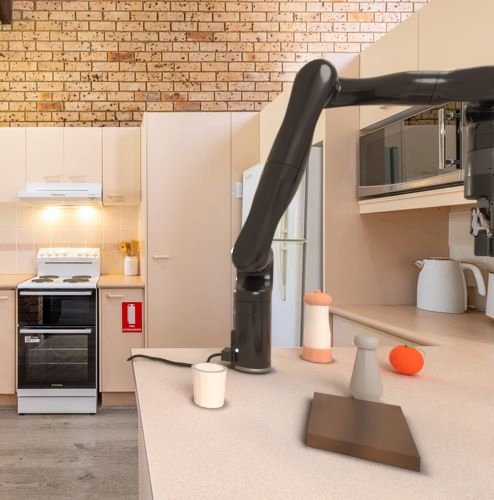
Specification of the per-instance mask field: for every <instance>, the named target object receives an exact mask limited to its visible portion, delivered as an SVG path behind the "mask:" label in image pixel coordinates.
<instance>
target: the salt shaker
mask: <svg viewBox="0 0 494 500" xmlns="http://www.w3.org/2000/svg"><path fill="white" fill-rule="evenodd" d="M353 338H354V339H353V345H354V346H355V347H356V353H355V357H354V363H353V367H352V372H351V376H350V381H349V385H348V387H349V390H350V392H351V394H352V396H353V398H355V399H361V400H367V401H373V402H380V399H381V398H382V397H383V394H384V385H383V381H382V375H381V371H380V370H381V369H380V366H379V361H378V354H377V350H378V349H379V347H380V339H379V338H378V337H376V336H374V335H370V334H356V335H355V336H354V337H353Z"/></svg>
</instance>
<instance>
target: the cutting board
mask: <svg viewBox="0 0 494 500" xmlns="http://www.w3.org/2000/svg"><path fill="white" fill-rule="evenodd" d="M308 418H309V419H308V424H307V431H306V446H307V447H311V448H315V449H320V450H323V451H329V452H333V453H337V454H341V455H346V456H350V457H351V456H352V457H354V458H359V459H364V460H368V461H372V462H376V463H380V464H385V465H390V466H394V467H397V468H402V469H407V470H411V471H415V472H421V455H420V452H419V450H418V448H417V445H416V441H415V439H414V437H413V434H412V432H411V430H410V427H409V425H408V422H407V420H406V417H405V414H404V411H403V409H402V406H401V405H395V404H392V403H391V404H389V403H384V402H380V401H378V402H373V401H367V400H361V399H355V398H354V397H349V396H343V395H337V394H330V393H324V392H318V391H314V392H313V395H312V402H311V409H310V413H309V417H308Z"/></svg>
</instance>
